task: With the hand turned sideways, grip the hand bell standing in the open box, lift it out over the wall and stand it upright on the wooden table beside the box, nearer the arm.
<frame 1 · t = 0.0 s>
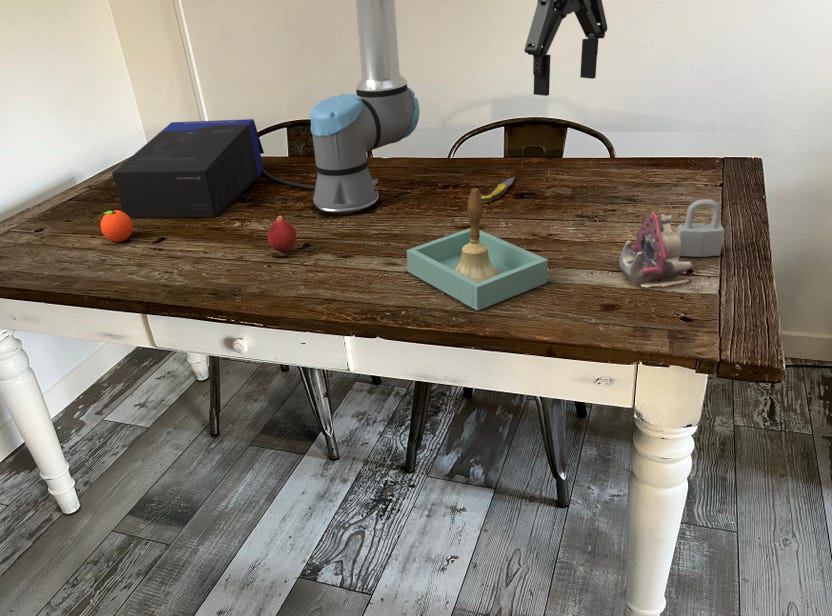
hand: (565, 86, 132), 28 cm above the table, tool pointing down, fingers open, 13 cm apart
open box: (475, 277, 134), on the table
padlock: (697, 254, 133), on the table
clementine: (119, 241, 168), on the table
hand bell: (475, 276, 134), resting on open box
headphone box: (199, 192, 192), on the table
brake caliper: (650, 274, 128), on the table
onion: (285, 254, 152), on the table
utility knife: (500, 191, 170), on the table
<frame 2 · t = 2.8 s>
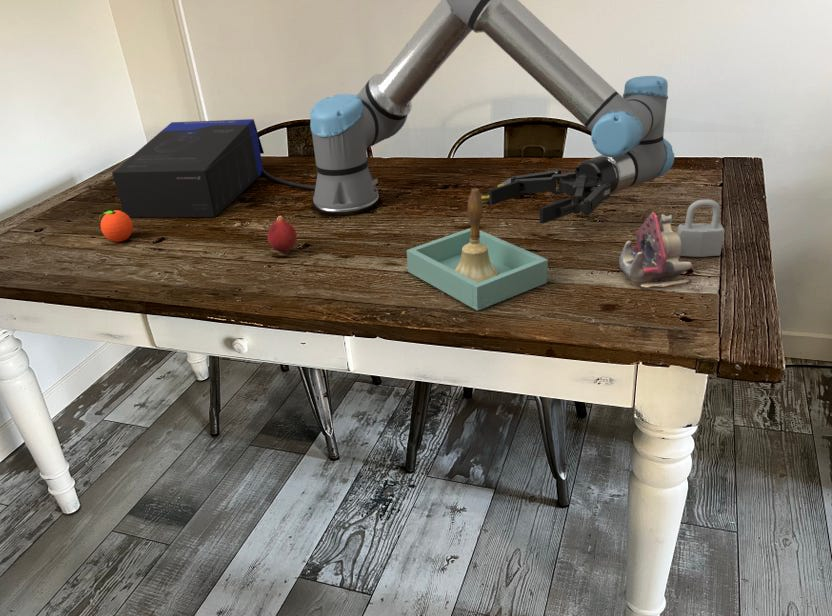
hand: (514, 206, 132), 11 cm above the table, tool horizontal, fingers open, 13 cm apart
nothing on the table moved.
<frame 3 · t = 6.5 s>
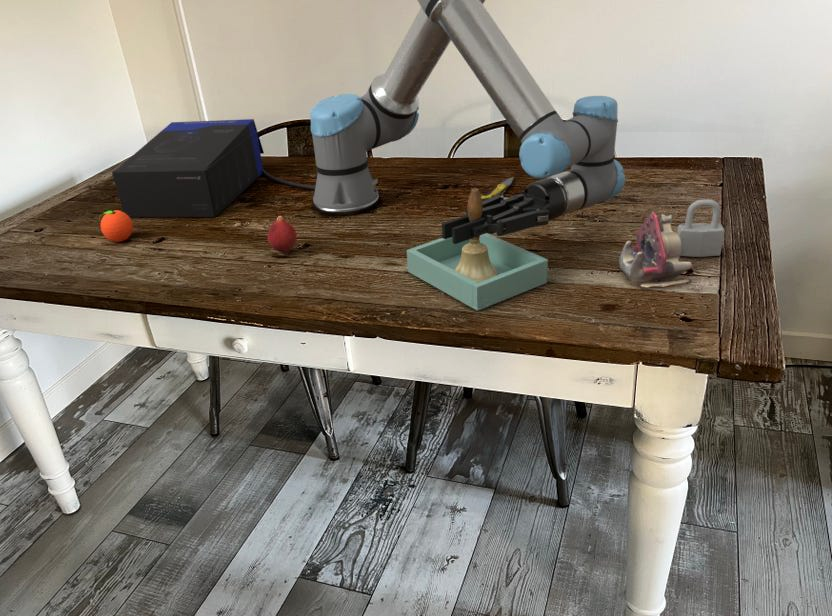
hand: (448, 233, 127), 10 cm above the table, tool horizontal, fingers closed on hand bell, 2 cm apart
hand bell: (475, 275, 134), resting on open box, touching gripper
everything else where it was.
when the fingers open (10 cm above the table, at t = 14.1 s): hand bell stays where it is, on the table.
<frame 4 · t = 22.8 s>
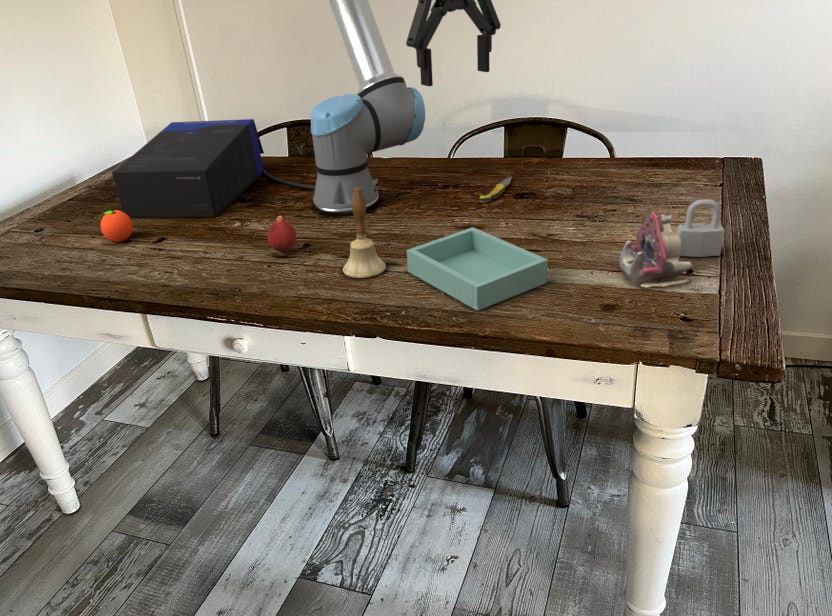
hand: (455, 78, 143), 29 cm above the table, tool pointing down, fingers open, 13 cm apart
hand bell: (364, 270, 142), on the table
everything else where it was.
at the end: hand bell inside the target area (0.1 cm from its centre), on the table; hand bell tilted 0°; the gripper is holding nothing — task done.
